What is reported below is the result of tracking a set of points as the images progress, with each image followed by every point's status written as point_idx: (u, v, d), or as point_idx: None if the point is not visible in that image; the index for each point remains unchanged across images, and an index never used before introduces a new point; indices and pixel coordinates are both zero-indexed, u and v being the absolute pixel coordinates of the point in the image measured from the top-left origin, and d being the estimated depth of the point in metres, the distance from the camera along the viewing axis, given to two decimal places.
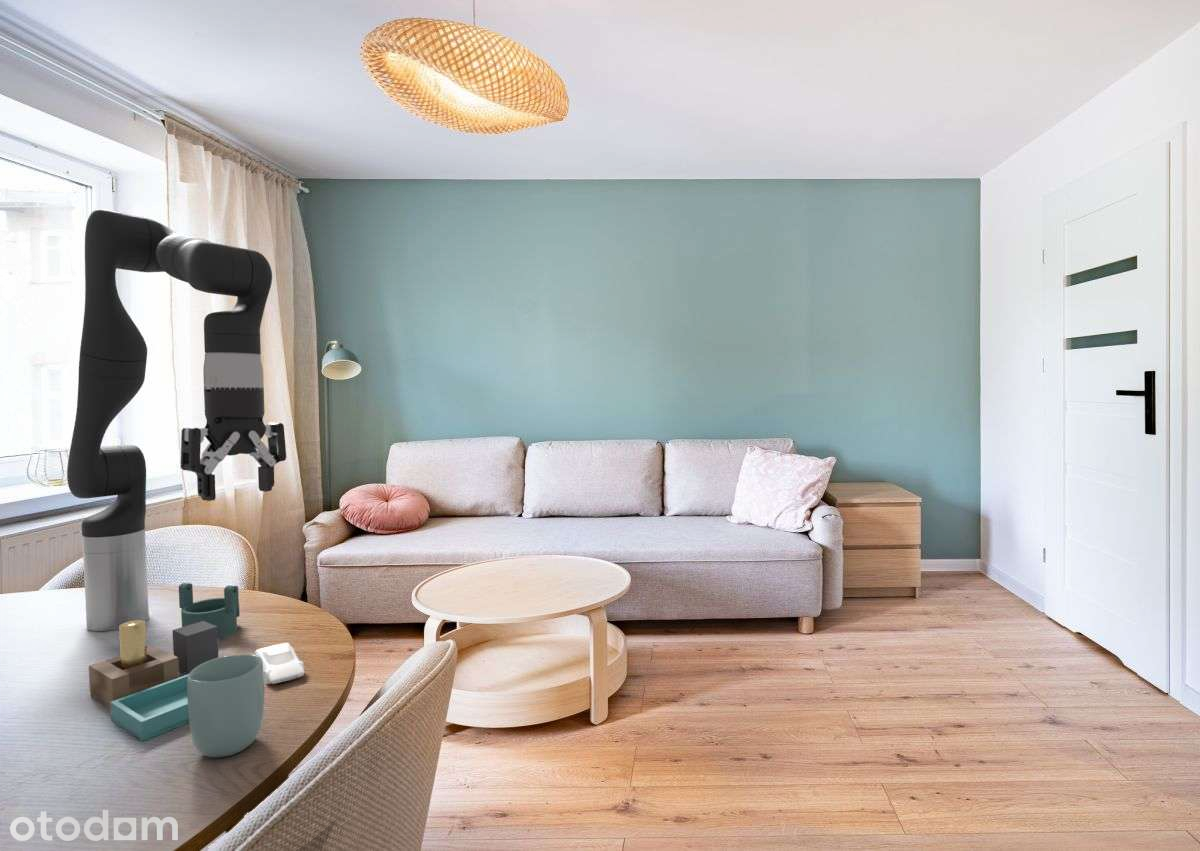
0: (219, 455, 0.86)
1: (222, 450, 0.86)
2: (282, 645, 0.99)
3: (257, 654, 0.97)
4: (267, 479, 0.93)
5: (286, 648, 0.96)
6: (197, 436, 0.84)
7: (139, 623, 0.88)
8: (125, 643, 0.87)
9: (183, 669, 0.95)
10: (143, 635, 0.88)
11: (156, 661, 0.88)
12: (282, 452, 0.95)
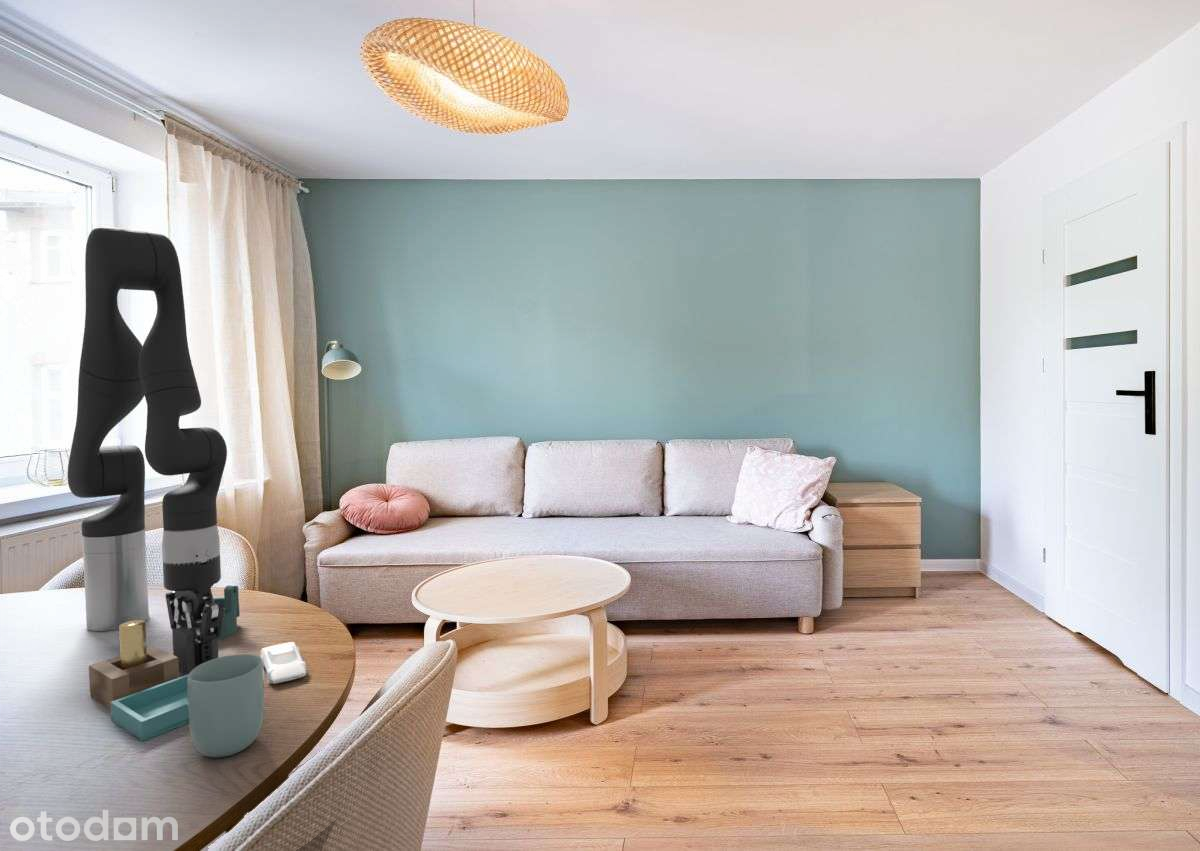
0: None
1: None
2: (287, 644, 0.99)
3: (262, 653, 0.97)
4: None
5: (290, 648, 0.96)
6: None
7: (139, 623, 0.88)
8: (125, 643, 0.87)
9: (183, 669, 0.95)
10: (143, 635, 0.88)
11: (156, 661, 0.88)
12: None
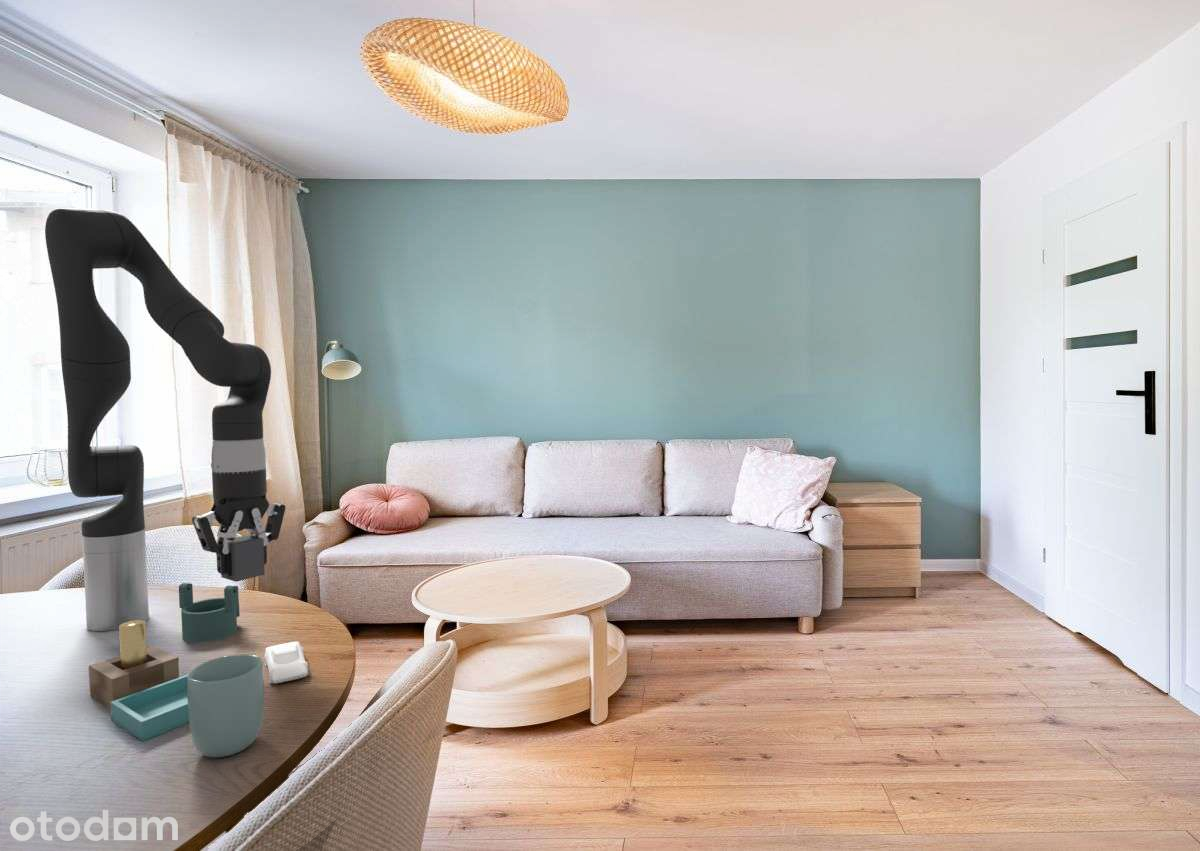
0: None
1: None
2: (291, 644, 1.00)
3: (266, 652, 0.97)
4: None
5: (293, 647, 0.97)
6: None
7: (139, 623, 0.88)
8: (125, 643, 0.87)
9: (256, 574, 0.99)
10: (143, 635, 0.88)
11: (156, 661, 0.88)
12: None
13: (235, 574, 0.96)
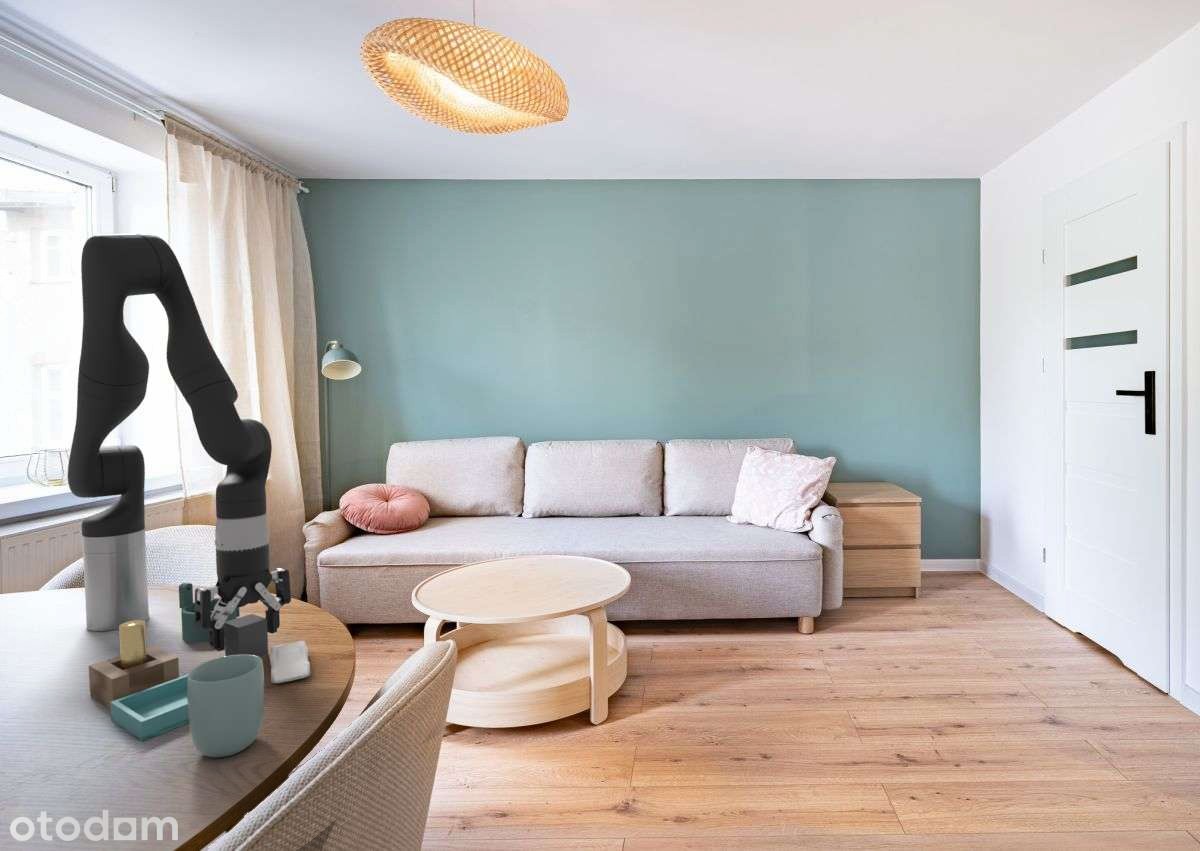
0: None
1: None
2: (296, 643, 1.00)
3: (271, 651, 0.98)
4: None
5: (297, 647, 0.97)
6: None
7: (139, 623, 0.88)
8: (125, 643, 0.87)
9: (259, 655, 1.00)
10: (143, 635, 0.88)
11: (156, 661, 0.88)
12: None
13: None
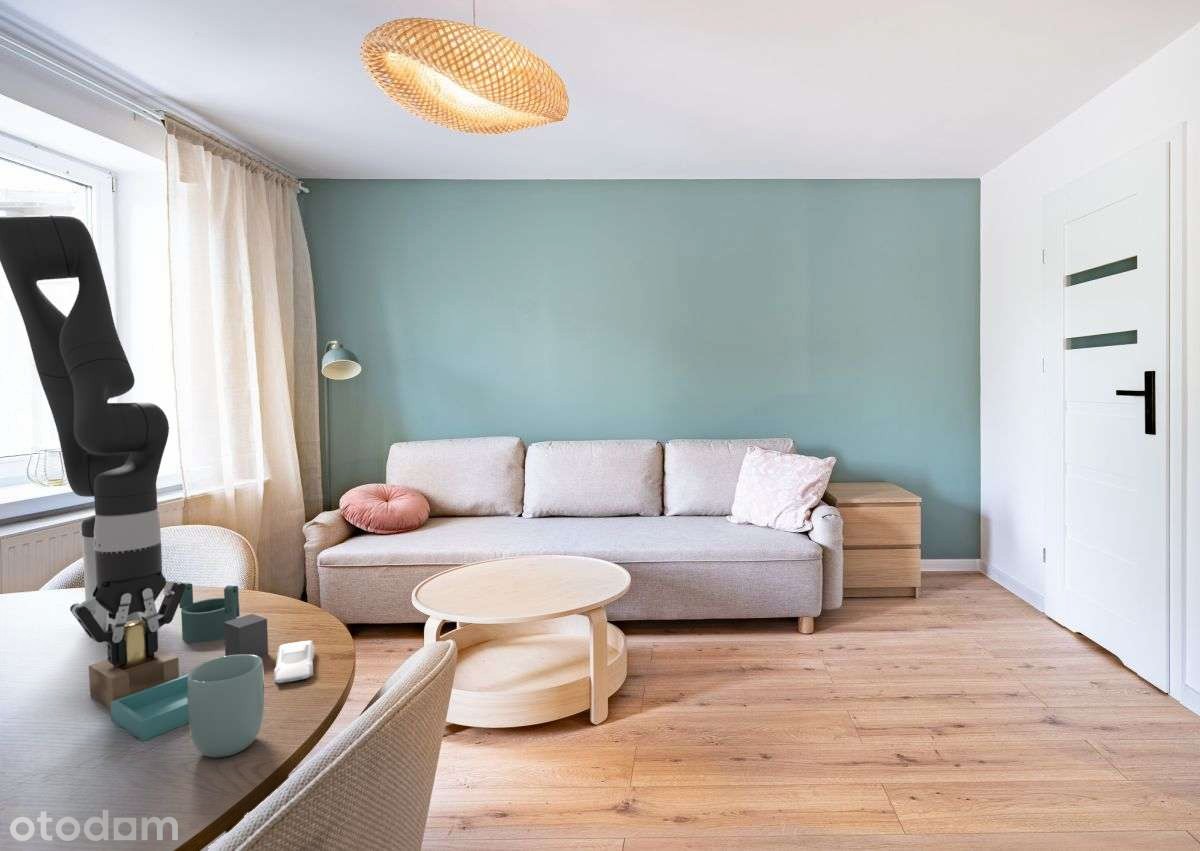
0: None
1: None
2: (304, 643, 1.00)
3: (278, 650, 0.98)
4: None
5: (302, 647, 0.97)
6: None
7: (139, 623, 0.88)
8: (125, 643, 0.87)
9: (259, 655, 1.00)
10: (143, 634, 0.88)
11: (156, 661, 0.88)
12: None
13: None
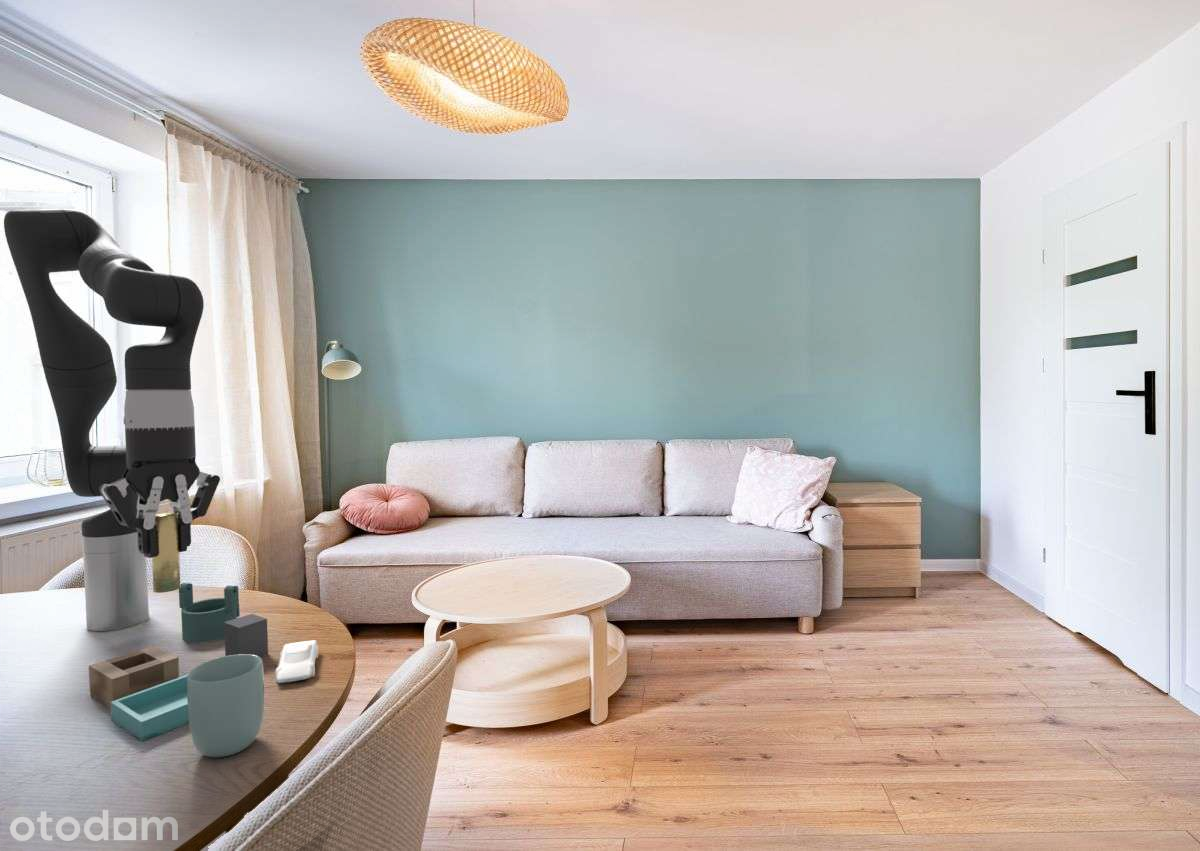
0: None
1: None
2: (308, 643, 1.00)
3: (283, 649, 0.98)
4: None
5: (305, 647, 0.97)
6: None
7: (171, 514, 0.82)
8: (157, 533, 0.80)
9: (259, 655, 1.00)
10: (175, 527, 0.82)
11: (156, 661, 0.88)
12: None
13: None
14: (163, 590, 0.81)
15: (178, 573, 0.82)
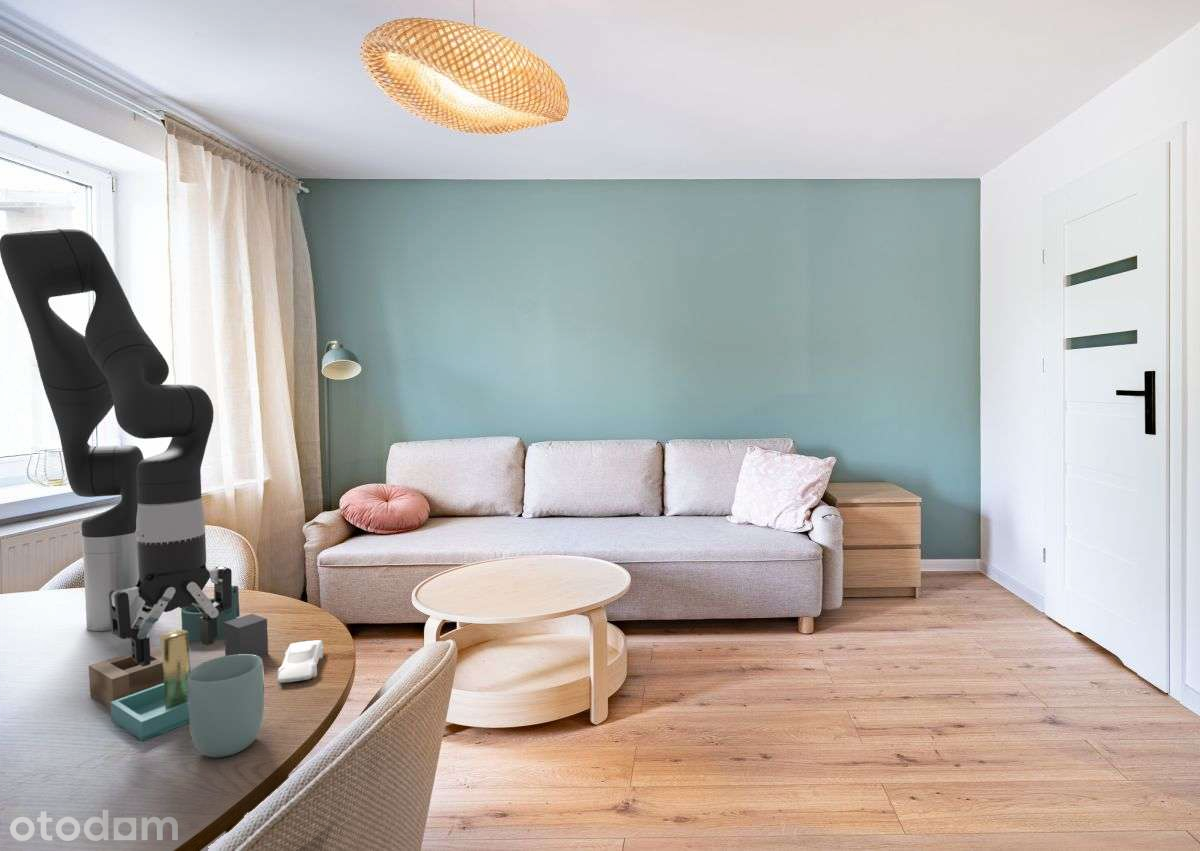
0: None
1: None
2: (313, 642, 1.00)
3: (288, 648, 0.99)
4: None
5: (309, 647, 0.97)
6: None
7: (182, 634, 0.83)
8: (168, 655, 0.81)
9: (259, 655, 1.00)
10: (186, 646, 0.83)
11: (156, 661, 0.88)
12: None
13: None
14: None
15: None
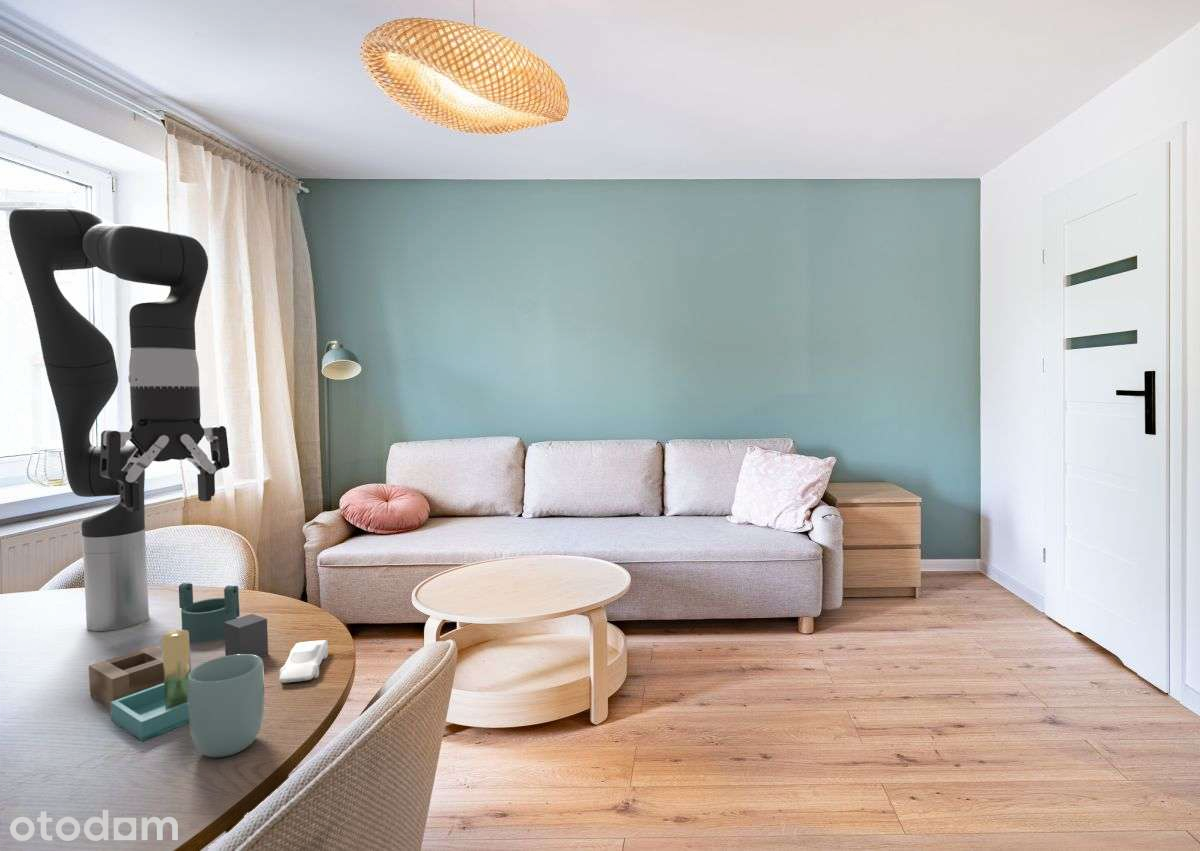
0: None
1: None
2: (317, 642, 1.00)
3: (293, 648, 0.99)
4: None
5: (312, 647, 0.97)
6: None
7: (183, 633, 0.83)
8: (169, 655, 0.81)
9: (259, 655, 1.00)
10: (186, 646, 0.83)
11: (156, 661, 0.88)
12: None
13: None
14: None
15: None
